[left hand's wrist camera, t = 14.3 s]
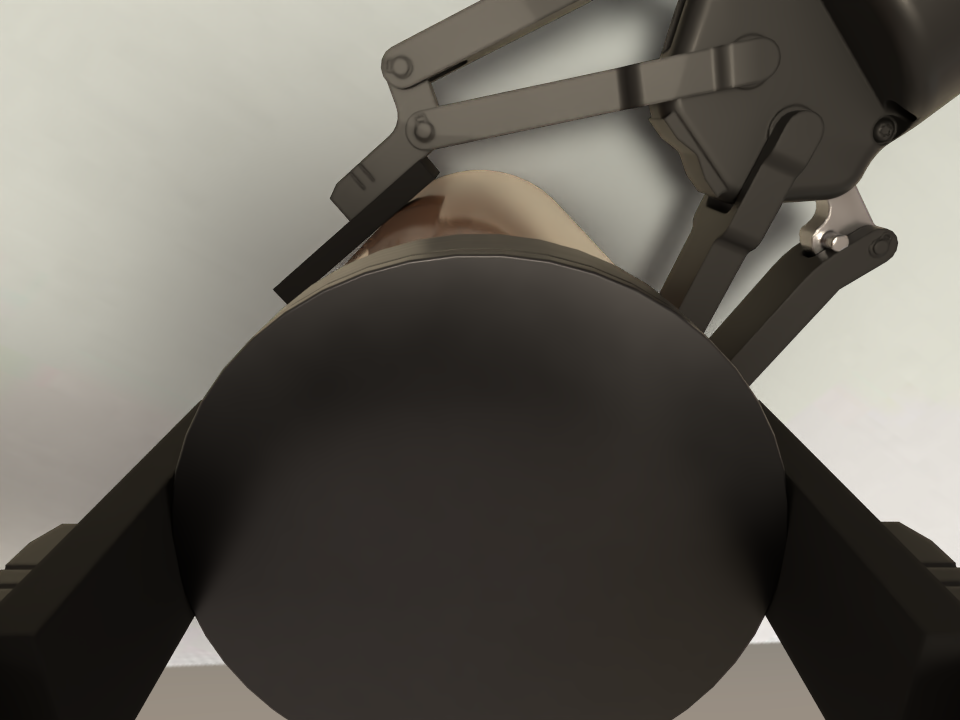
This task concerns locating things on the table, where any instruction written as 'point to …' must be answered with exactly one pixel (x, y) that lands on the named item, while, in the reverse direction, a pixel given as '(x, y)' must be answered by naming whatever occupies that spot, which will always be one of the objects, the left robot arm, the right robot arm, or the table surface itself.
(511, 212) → the jar
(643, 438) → the lid
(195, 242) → the table surface
